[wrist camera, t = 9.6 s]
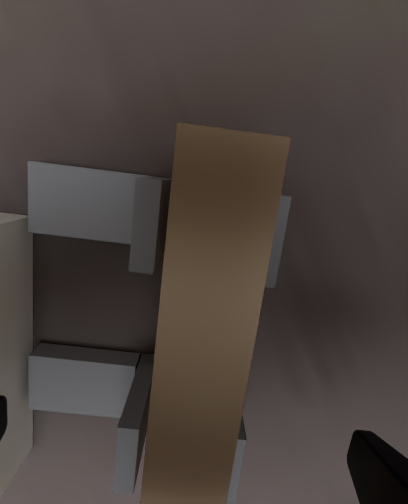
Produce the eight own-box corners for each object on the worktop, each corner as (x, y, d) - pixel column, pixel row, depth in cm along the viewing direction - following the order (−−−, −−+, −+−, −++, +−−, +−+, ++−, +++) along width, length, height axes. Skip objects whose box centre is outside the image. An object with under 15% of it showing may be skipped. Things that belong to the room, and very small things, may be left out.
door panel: (199, 437, 17) (196, 670, 9) (160, 433, 16) (124, 665, 9) (238, 160, 13) (291, 137, 6) (191, 154, 13) (177, 122, 5)
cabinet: (261, 190, 15) (292, 196, 10) (216, 463, 18) (222, 568, 13) (-82, 146, 14) (-232, 130, 9) (-59, 437, 18) (-158, 537, 13)
